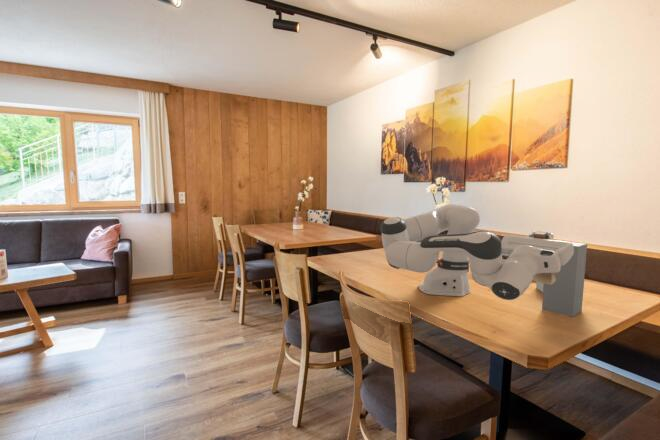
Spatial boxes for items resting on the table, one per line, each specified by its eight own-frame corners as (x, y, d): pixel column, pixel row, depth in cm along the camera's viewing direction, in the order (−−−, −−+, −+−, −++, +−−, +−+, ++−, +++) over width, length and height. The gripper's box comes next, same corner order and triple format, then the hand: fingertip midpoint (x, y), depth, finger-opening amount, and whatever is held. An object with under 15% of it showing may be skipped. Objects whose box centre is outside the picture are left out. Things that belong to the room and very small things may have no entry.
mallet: (551, 235, 106) (556, 231, 108) (527, 232, 111) (532, 229, 113) (551, 284, 109) (555, 280, 112) (528, 280, 115) (533, 276, 117)
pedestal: (572, 317, 121) (578, 246, 118) (541, 309, 129) (546, 242, 126) (581, 311, 127) (587, 243, 125) (551, 303, 135) (556, 240, 132)
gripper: (495, 261, 113) (512, 237, 120) (565, 273, 97) (580, 246, 104) (491, 246, 111) (509, 223, 118) (562, 256, 95) (578, 229, 101)
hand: (543, 234), depth 111 cm, fingers closed on mallet, 3 cm apart
